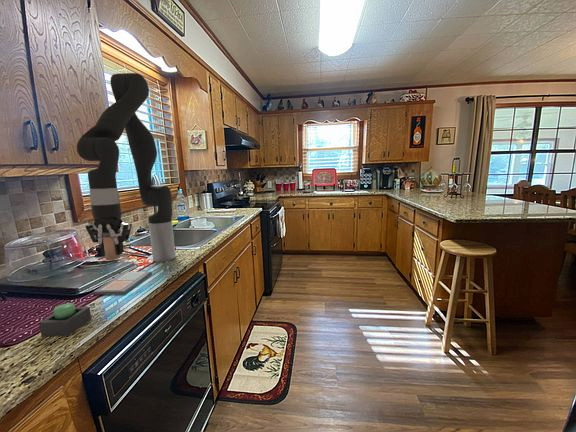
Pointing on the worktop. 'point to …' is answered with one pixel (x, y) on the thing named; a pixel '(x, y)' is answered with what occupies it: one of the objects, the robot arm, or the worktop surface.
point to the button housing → (65, 323)
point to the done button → (64, 310)
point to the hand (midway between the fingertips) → (112, 254)
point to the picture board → (123, 283)
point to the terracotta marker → (109, 247)
